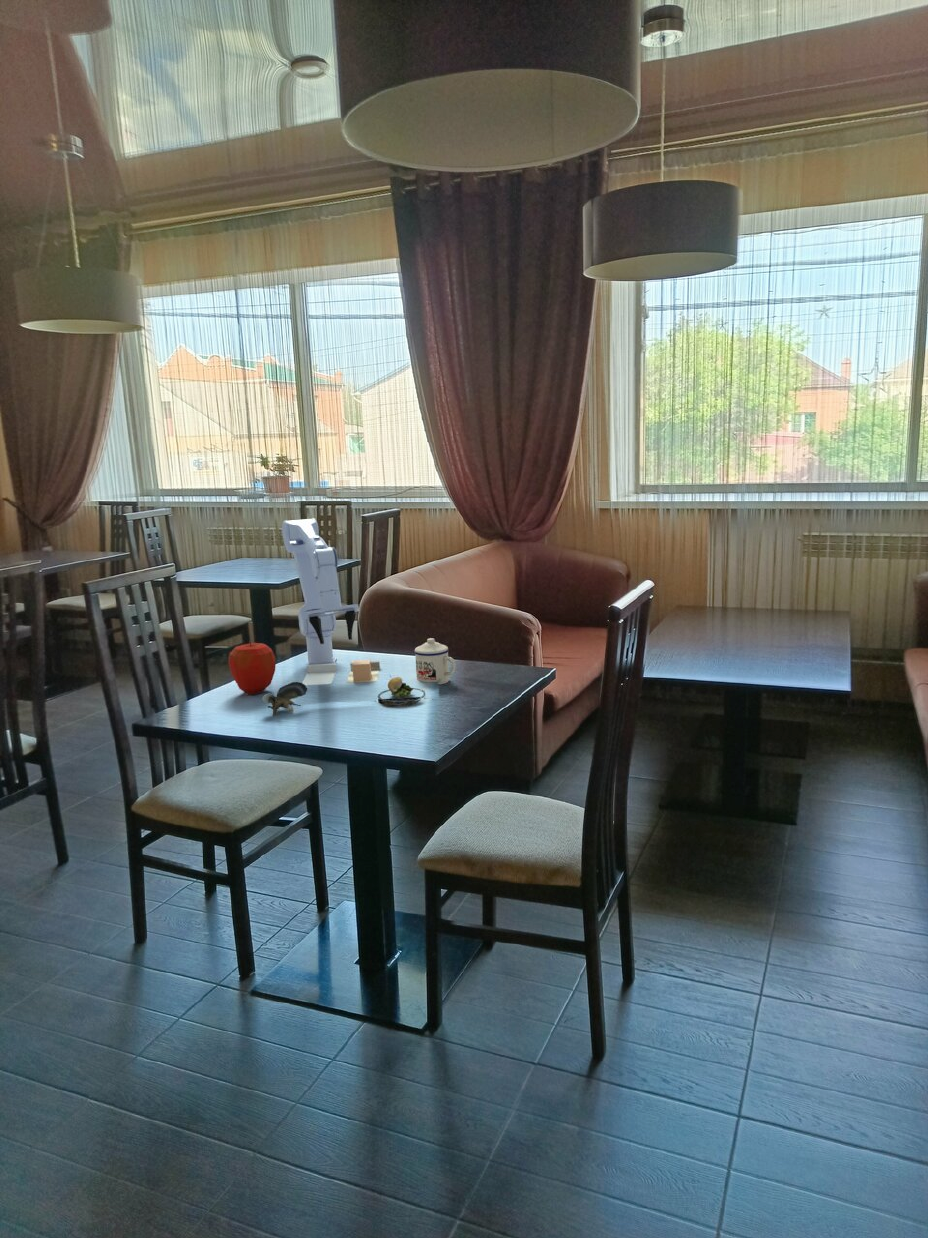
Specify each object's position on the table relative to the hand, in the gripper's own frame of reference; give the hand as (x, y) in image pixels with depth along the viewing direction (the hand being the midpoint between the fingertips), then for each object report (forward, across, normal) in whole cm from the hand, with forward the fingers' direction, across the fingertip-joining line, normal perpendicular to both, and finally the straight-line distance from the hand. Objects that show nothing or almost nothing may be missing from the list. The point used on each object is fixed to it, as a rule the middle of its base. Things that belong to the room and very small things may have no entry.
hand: (336, 641), depth 236 cm
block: (+11, +6, -3) cm, 13 cm away
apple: (+10, -22, -6) cm, 25 cm away
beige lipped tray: (+11, +6, +1) cm, 13 cm away
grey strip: (+10, -6, +1) cm, 12 cm away
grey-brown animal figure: (+16, -11, -24) cm, 31 cm away
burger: (+18, +16, -19) cm, 31 cm away
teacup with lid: (+15, +26, -5) cm, 30 cm away
